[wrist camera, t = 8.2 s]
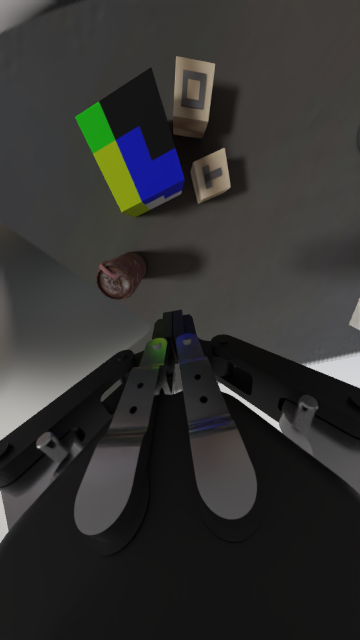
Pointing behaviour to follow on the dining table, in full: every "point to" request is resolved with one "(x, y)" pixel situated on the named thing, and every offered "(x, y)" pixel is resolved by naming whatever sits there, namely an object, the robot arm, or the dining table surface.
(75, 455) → the robot arm
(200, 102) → the marked block
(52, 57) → the dining table surface
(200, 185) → the marked block
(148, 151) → the puzzle toy
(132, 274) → the can
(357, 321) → the dish rim
